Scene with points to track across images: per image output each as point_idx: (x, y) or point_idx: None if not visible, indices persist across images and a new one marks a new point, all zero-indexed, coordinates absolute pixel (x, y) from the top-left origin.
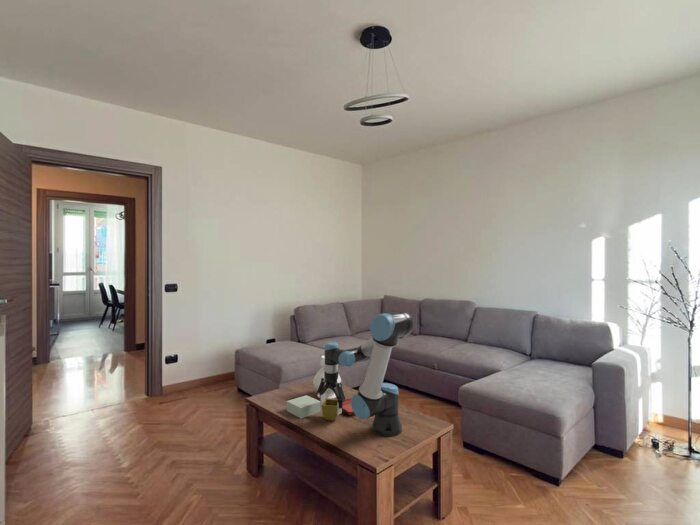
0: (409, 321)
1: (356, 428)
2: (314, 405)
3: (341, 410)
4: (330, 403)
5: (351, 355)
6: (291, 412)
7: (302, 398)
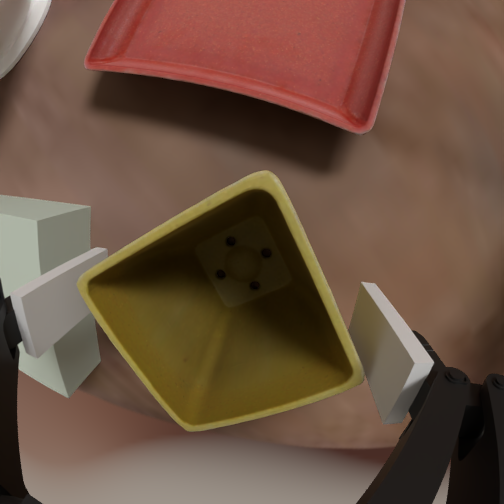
0: None
1: (479, 277)
2: None
3: (384, 301)
4: (148, 247)
5: None
6: None
7: None
